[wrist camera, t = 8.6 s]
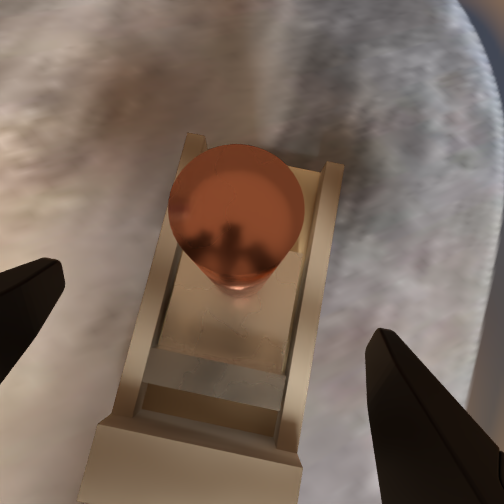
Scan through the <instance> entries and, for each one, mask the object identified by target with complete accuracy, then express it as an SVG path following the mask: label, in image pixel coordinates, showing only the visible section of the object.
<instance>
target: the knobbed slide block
mask: <svg viewBox="0 0 504 504" xmlns="http://www.w3.org/2000/svg"><path fill="white" fill-rule="evenodd" d="M304 215H305V204H304V197H303V193H302V190H301V187H300V185H299V182H298V180H297V179H296V177H295V175H294V174H293V172H292V171H291V170H290V169H289V167H288V166H287V165H286V164H285V163H284V162H283V161H282V160H280V159H279V158H278V157H276V156H275V155H273V154H271V153H270V152H268V151H266V150H263V149H261V148H258V147H254V146H250V145H243V144H230V145H223V146H218V147H215V148H212V149H209V150H207V151H205V152H203V153H201V154H200V155H198V156H197V157H195V158H194V159H192V160H191V161H190V162H189V163H188V164H187V165H186V166H185V167H184V168H183V169H182V170H181V172H180V173H179V175H178V176H177V178H176V180H175V182H174V184H173V186H172V189H171V192H170V196H169V202H168V216H169V222H170V227H171V230H172V232H173V235H174V237H175V239H176V241H177V243H178V244H179V246H180V247H181V248H182V250H183V253H182V257H181V261H180V265H179V269H178V273H177V277H176V281H175V285H174V289H173V292H172V296H171V300H170V304H169V308H168V312H167V316H166V320H165V324H164V328H163V332H162V336H161V340H160V344H159V345H156V346H153V347H151V350H150V353H149V357H148V361H147V365H146V369H145V373H144V377H143V381H142V382H145V383H150V384H154V385H159V386H164V387H168V388H173V389H178V390H182V391H187V392H192V393H196V394H201V395H206V396H210V397H215V398H220V399H225V400H229V401H234V402H239V403H243V404H248V405H253V406H257V407H262V408H267V409H271V410H276V411H280V407H281V401H282V396H283V390H284V384H285V379H286V375H285V374H284V373H283V371H282V367H283V362H284V356H285V351H286V345H287V340H288V334H289V328H290V323H291V317H292V312H293V306H294V301H295V295H296V290H297V284H298V279H299V273H300V268H301V262H302V256H303V254H302V253H298V252H293V251H290V250H291V248H292V247H293V246H294V244H295V242H296V241H297V239H298V237H299V235H300V232H301V230H302V226H303V222H304Z"/></svg>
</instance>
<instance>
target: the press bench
mask: <svg viewBox="0 0 504 504" xmlns="http://www.w3.org/2000/svg"><path fill="white" fill-rule="evenodd" d="M207 150H209V149H207V144H206V139H205V136H203V135H198V134H193V133H187V136H186V140H185V144H184V147H183V151H182V155H181V158H180V162H179V166H178V169H177V173H176V177H175V180H176V178H177V176H178V175H179V173H180V172H181V170H182V169H183V168H184V167H185V166H186V165H187V164H188V163H189V162H190V161H191V160H192V159H194V158H195V157H197V156H198V155H200V154H201V153H203V152H205V151H207ZM288 167H289V169H290V170H291V171H292V172H293V174H294V175H295V177H296V179H297V180H298V182H299V185H300V187H301V190H302V193H303V197H304V204H305V215H304V222H303V226H302V230H301V232H300V235H299V237H298V239H297V241H296V242H295V244H294V246H293V247H292V248H291V250H290V251H293V252H298V253H302V254H303V256H302V262H301V268H300V273H299V279H298V284H297V290H296V295H295V301H294V306H293V312H292V317H291V323H290V328H289V334H288V340H287V345H286V351H285V356H284V362H283V367H282V371H283V373H284V374H285V375H286V379H285V384H284V390H283V396H282V401H281V407H280V411H276V410H271V409H267V408H262V407H257V406H253V405H248V404H243V403H239V402H234V401H229V400H225V399H220V398H215V397H210V396H206V395H201V394H196V393H192V392H187V391H182V390H178V389H173V388H168V387H164V386H159V385H154V384H150V383H145V382H142V381H143V377H144V373H145V369H146V365H147V361H148V357H149V353H150V350H151V347H153V346H156V345H159V344H160V340H161V336H162V332H163V328H164V324H165V320H166V316H167V312H168V308H169V304H170V300H171V296H172V292H173V289H174V285H175V281H176V277H177V273H178V269H179V265H180V261H181V257H182V253H183V250H182V248H181V247H180V246H179V244H178V243H177V241H176V239H175V237H174V235H173V232H172V230H171V227H170V222H169V216H168V206H167V210H166V214H165V218H164V221H163V225H162V229H161V232H160V236H159V240H158V243H157V247H156V251H155V254H154V258H153V262H152V266H151V269H150V273H149V277H148V280H147V284H146V288H145V291H144V295H143V299H142V303H141V306H140V310H139V314H138V317H137V321H136V325H135V328H134V332H133V336H132V339H131V343H130V347H129V351H128V354H127V358H126V362H125V365H124V369H123V373H122V376H121V380H120V384H119V388H118V391H117V395H116V399H115V402H114V406H113V410H112V413H111V414H110V415H109V416H108V417H106V418H105V419H104V420H102V421H101V422H100V423H98V425H97V429H96V432H95V436H94V439H93V443H92V447H91V450H90V454H89V457H88V461H87V465H86V468H85V472H84V476H83V479H82V483H81V486H80V490H79V494H78V497H77V501H78V502H83V503H87V504H297V502H298V496H299V489H300V483H301V477H302V471H303V467H302V465H301V462H300V460H299V457H298V455H297V451H298V445H299V438H300V432H301V426H302V420H303V414H304V408H305V402H306V396H307V390H308V384H309V378H310V372H311V365H312V359H313V353H314V347H315V341H316V335H317V329H318V323H319V317H320V311H321V305H322V298H323V292H324V286H325V280H326V274H327V268H328V262H329V256H330V250H331V244H332V238H333V232H334V225H335V219H336V213H337V207H338V201H339V195H340V189H341V183H342V177H343V171H344V165H342V164H338V163H333V162H328V161H327V162H326V164H325V166H324V167H323V169H322V171H321V173H320V172H315V171H310V170H305V169H300V168H296V167H291V166H288ZM174 182H175V181H174Z"/></svg>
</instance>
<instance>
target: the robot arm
mask: <svg viewBox="0 0 504 504" xmlns="http://www.w3.org/2000/svg"><path fill="white" fill-rule="evenodd" d="M64 288H65V279H64V274H63V269H62V264H61V262H60V261H59V260H56V259H51V258H40V259H38V260H35V261H32V262H29V263H26V264H23V265H21V266H18V267H15V268H12V269H9V270H6V271H4V272H1V273H0V384H1V383H2V381H3V380H4V379H5V377H6V376H7V375H8V373H9V372H10V371H11V369H12V368H13V367H14V365H15V364H16V363H17V361H18V360H19V359H20V357H21V356H22V355H23V353H24V352H25V351H26V349H27V348H28V347H29V345H30V344H31V343H32V341H33V340H34V338H35V337H36V336H37V334H38V332H39V331H40V329H41V328H42V326H43V324H44V323H45V321H46V319H47V318H48V316H49V314H50V313H51V311H52V309H53V308H54V306H55V304H56V302H57V301H58V299H59V297H60V296H61V294H62V292H63V290H64ZM365 364H366V388H367V407H368V415H369V422H370V428H371V435H372V441H373V448H374V454H375V461H376V467H377V474H378V480H379V487H380V493H381V500H382V504H504V452H502V451H499V447H498V446H497V445H496V444H495V443H494V442H493V441H492V439H491V438H490V437H489V436H488V435H487V434H486V433H485V432H484V430H483V429H482V428H481V427H480V426H479V425H478V424H477V423H476V422H475V421H474V419H473V418H472V417H471V416H470V415H469V414H468V413H467V412H466V410H465V409H464V408H463V407H462V406H461V405H460V404H459V403H458V402H457V400H456V399H455V398H454V397H453V396H452V395H451V394H450V393H449V392H448V391H447V389H446V388H445V387H444V386H443V385H442V384H441V383H440V382H439V381H438V379H437V378H436V377H435V376H434V375H433V374H432V373H431V372H430V371H429V369H428V368H427V367H426V366H425V365H424V364H423V363H422V362H421V361H420V359H419V358H418V357H417V356H416V355H415V354H414V353H413V352H412V351H411V349H410V348H409V347H408V346H407V345H406V344H405V343H404V342H403V341H402V340H401V338H400V337H399V336H398V335H397V334H396V333H395V332H394V331H392V330H389V329H384V328H378V329H377V330H376V331H375V332H374V334H373V336H372V338H371V340H370V341H369V343H368V345H367V347H366V351H365Z"/></svg>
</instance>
